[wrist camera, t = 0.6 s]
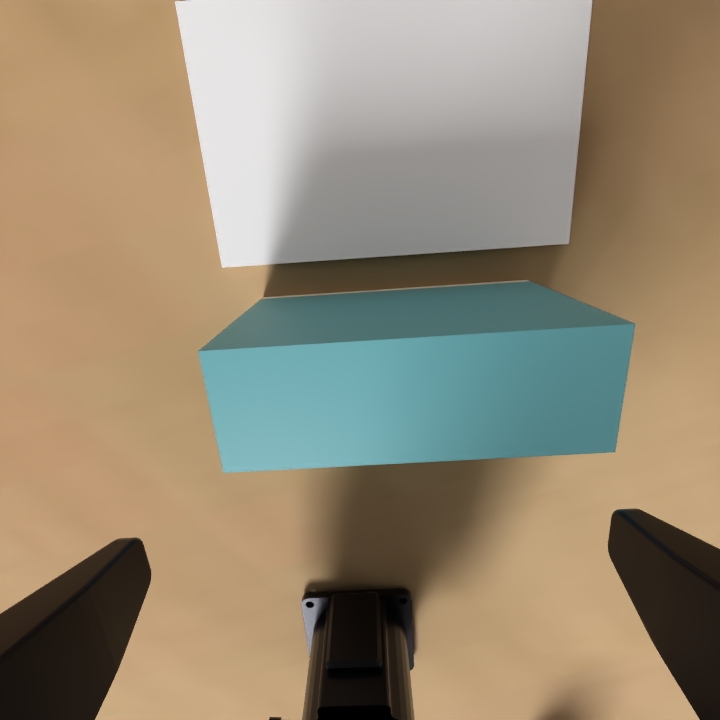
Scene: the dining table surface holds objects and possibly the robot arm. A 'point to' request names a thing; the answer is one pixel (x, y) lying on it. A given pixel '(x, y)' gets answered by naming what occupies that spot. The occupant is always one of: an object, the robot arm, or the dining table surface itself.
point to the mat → (386, 124)
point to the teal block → (416, 377)
